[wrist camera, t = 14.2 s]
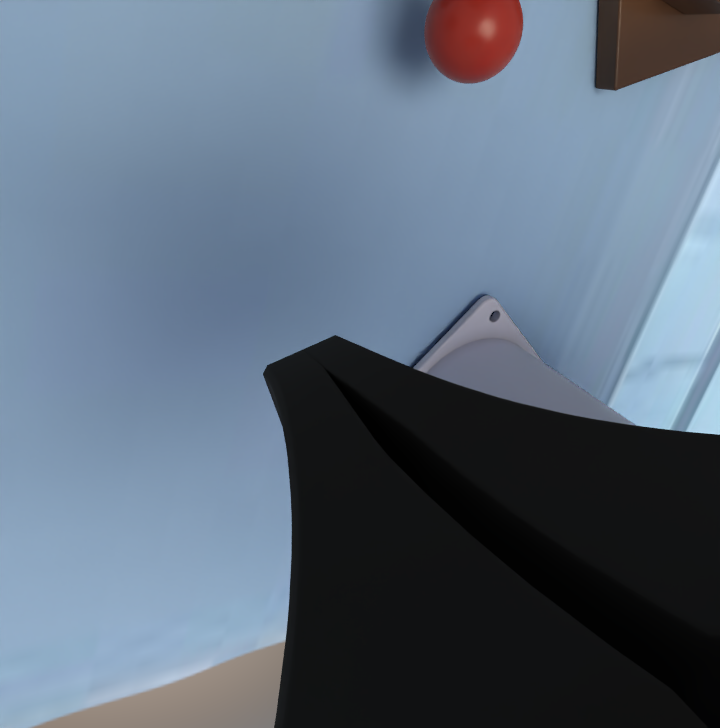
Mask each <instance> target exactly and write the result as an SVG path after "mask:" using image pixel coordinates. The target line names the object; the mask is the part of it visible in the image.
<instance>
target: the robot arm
mask: <svg viewBox="0 0 720 728" xmlns="http://www.w3.org/2000/svg"><path fill="white" fill-rule="evenodd" d="M492 312H494V314H493V315H492V317H490V315H491V314H492ZM263 376H264V378H265V381H266V384H267V386H268V389H269V392H270V394H271V397H272V400H273V402H274V405H275V408H276V410H277V413H278V416H279V418H280V421H281V424H282V426H283V431H284V437H285V442H286V448H287V456H288V467H289V478H290V490H291V510H292V560H291V579H290V599H289V612H288V624H287V634H286V642H285V650H284V658H283V666H282V675H281V682H280V690H279V698H278V707H277V713H276V721H275V726H274V728H720V435H715V434H704V433H693V432H682V431H674V430H665V429H657V428H649V427H641V426H636V425H635V424H633V423H632V422H630V421H629V420H627V419H626V418H624V417H623V416H621V415H620V414H619V413H617V412H616V411H614V410H613V409H611V408H610V407H608V406H607V405H605V404H604V403H602V402H601V401H599V400H598V399H596V398H595V397H593V396H592V395H591V394H589V393H588V392H586V391H585V390H583V389H582V388H580V387H579V386H577V385H576V384H574V383H573V382H571V381H570V380H568V379H567V378H565V377H564V376H563V375H561V374H560V373H558V372H557V371H555V370H554V369H552V368H551V367H549V366H548V365H546V364H545V363H543V361H542V360H541V359H540V357H539V356H538V354H537V353H536V352H535V350H534V349H533V348H532V346H531V345H530V344H529V342H528V341H527V340H526V338H525V337H524V336H523V334H522V333H521V332H520V330H519V329H518V328H517V326H516V325H515V324H514V322H513V321H512V319H511V318H510V317H509V315H508V314H507V313H506V311H505V310H504V309H503V307H502V306H501V305H500V303H499V302H498V301H497V300H496V299H495V298H493V297H492V296H489V295H486V296H483V297H482V298H480V299H479V300H478V301H477V302H476V303H475V304H474V305H473V306H472V307H471V308H470V309H469V310H468V311H467V312H466V314H465V315H464V316H463V317H462V318H461V319H460V320H459V321H458V322H457V323H456V324H455V325H454V326H453V327H452V328H451V329H450V330H449V331H448V332H447V333H446V334H445V335H444V336H443V337H442V338H441V339H440V341H439V342H438V343H437V344H436V345H435V346H434V347H433V348H432V349H431V350H430V351H429V352H428V353H427V354H426V355H425V356H424V357H423V358H422V359H421V360H420V361H419V362H418V363H417V364H416V365H415V366H414V368H411V367H409V366H406V365H404V364H401V363H399V362H396V361H394V360H392V359H389V358H387V357H385V356H382V355H380V354H378V353H375V352H373V351H371V350H368V349H366V348H364V347H361V346H359V345H357V344H355V343H352V342H350V341H348V340H345V339H343V338H341V337H338V336H336V335H335V336H332V337H330V338H328V339H326V340H323V341H321V342H319V343H317V344H314V345H312V346H310V347H308V348H305V349H303V350H301V351H299V352H296V353H294V354H292V355H290V356H287V357H285V358H283V359H281V360H278V361H276V362H274V363H272V364H269V365H267V367H266V369H265V371H264V373H263Z"/></svg>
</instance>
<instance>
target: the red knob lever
mask: <svg viewBox="0 0 720 728" xmlns="http://www.w3.org/2000/svg"><path fill="white" fill-rule="evenodd" d="M522 30H523V14H522V8H521V5H520V2H519V0H433V2H432V3H431V5H430V8H429V10H428V13H427V16H426V21H425V29H424V37H425V45H426V49H427V52H428V55H429V57H430V59H431V61H432V63H433V64H434V66H435V67H436V68H437V69H438V70H439V71H440V72H441V73H442V74H443V75H444V76H446V77H447V78H449V79H451V80H453V81H456V82H460V83H468V84H469V83H478V82H482V81H485V80H488V79H490V78H491V77H493V76H495V75H496V74H498V73H499V72H500V71H502V70H503V69H504V68H505V67H506V65H507V64H508V63H509V62H510V60H511V59H512V58H513V56H514V54H515V52H516V51H517V48H518V46H519V43H520V40H521V36H522Z"/></svg>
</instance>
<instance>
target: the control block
mask: <svg viewBox="0 0 720 728" xmlns="http://www.w3.org/2000/svg"><path fill="white" fill-rule="evenodd" d="M719 52H720V0H599V14H598V43H597V71H596V88H598V89H607V90H618V89H621V88H623V87H626V86H629V85H632V84H634V83H637V82H640V81H642V80H645V79H648V78H651V77H653V76H656V75H659V74H662V73H664V72H667V71H670V70H673V69H675V68H678V67H681V66H684V65H686V64H689V63H692V62H694V61H697V60H700V59H703V58H705V57H708V56H711V55H714V54H716V53H719Z"/></svg>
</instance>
